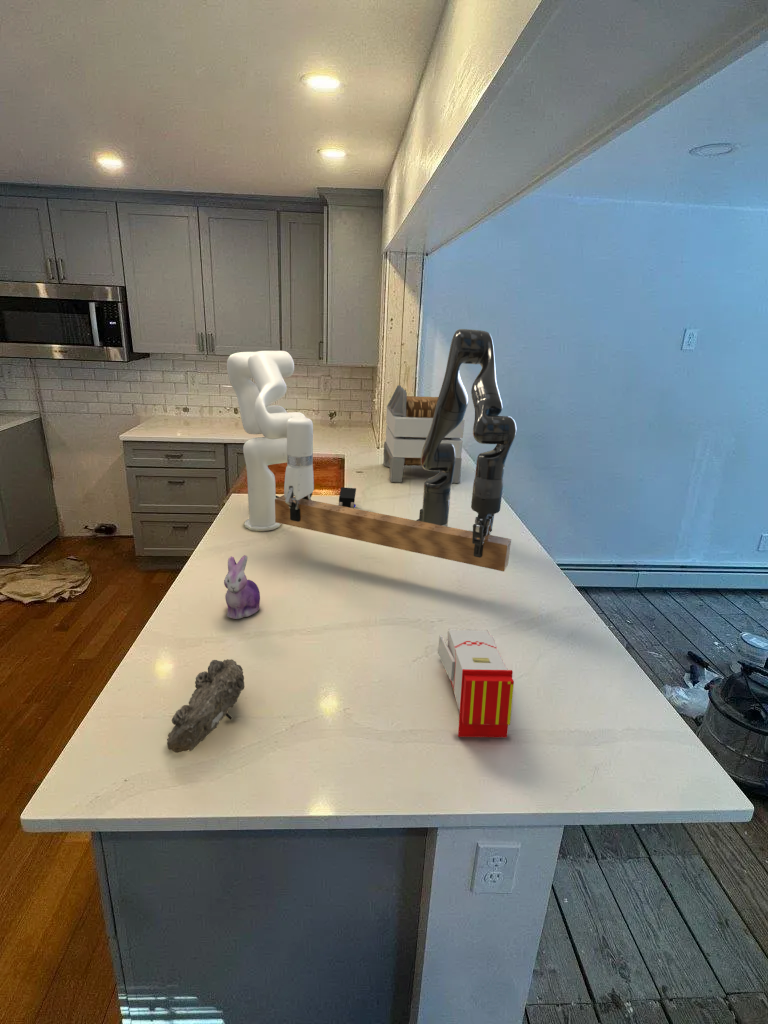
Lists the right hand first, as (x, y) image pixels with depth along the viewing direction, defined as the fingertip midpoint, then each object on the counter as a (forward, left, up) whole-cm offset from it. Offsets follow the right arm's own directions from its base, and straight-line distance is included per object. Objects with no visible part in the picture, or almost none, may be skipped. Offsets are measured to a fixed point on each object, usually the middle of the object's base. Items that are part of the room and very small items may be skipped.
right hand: (480, 552), depth 152 cm
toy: (+18, -37, -14) cm, 44 cm away
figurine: (-44, -45, -14) cm, 64 cm away
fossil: (-18, -75, -14) cm, 79 cm away
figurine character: (-72, +32, -14) cm, 80 cm away
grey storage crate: (-79, +98, -14) cm, 127 cm away
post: (-28, -6, -3) cm, 28 cm away
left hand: (-55, -12, 0) cm, 56 cm away
